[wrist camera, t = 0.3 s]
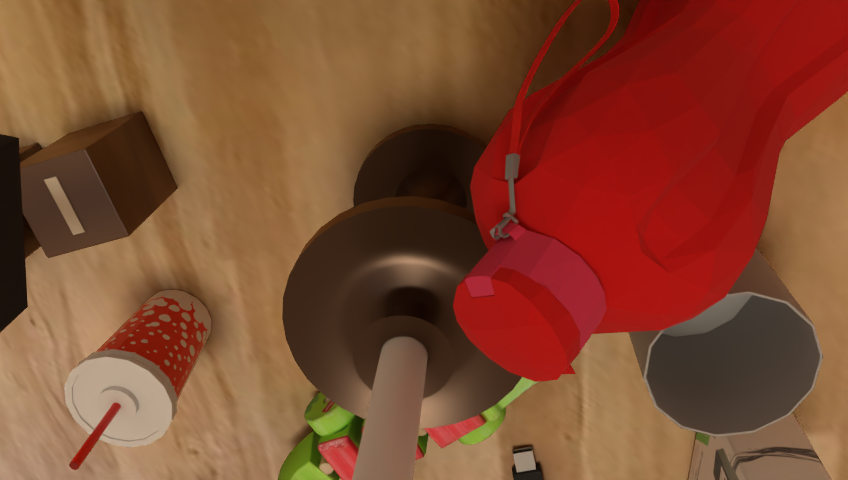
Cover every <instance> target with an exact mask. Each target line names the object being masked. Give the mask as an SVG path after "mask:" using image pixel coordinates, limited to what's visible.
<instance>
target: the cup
mask: <svg viewBox="0 0 848 480" xmlns="http://www.w3.org/2000/svg"><path fill="white" fill-rule="evenodd" d="M629 335H630V338H631V341H632V344H633V347H634V350H635V354H636V357H637V360H638V363H639V366H640V369H641V372H642V375H643V379H644V381H645V384H646V386H647V388H648V391H649V393H650V396H651V398H652V401H653V403H654V406H655V408H657V409H658V410H659V411H660V412H662V413H663V414H664V415H665V416H667V417H668V418H669V419H670V420H672V421H673V422H674V423H675V424H677V425H678V426H679V427H680V428H684V429H688V430H692V431H696V432H699V433H703V434H707V435H711V436H715V437H718V436H727V435H736V434H745V433H754V432H756V431H758V430H760V429H762V428H765V427H767V426H769V425H771V424H773V423H775V422H777V421H779V420H781V419H783V418H785V417H787V416H789V415H790V414H791V413H792V412H793V411H794V410H795V409H796V408H797V406H798V405H799V404H800V403H801V402H802V401H803V400H804V399H805V398H806V397H807V396H808V395H809V393H810V392H811V391H812V390H813V389H814V387H815V383H816V380H817V376H818V373H819V369H820V366H821V362H822V359H823V354H822V350H821V347H820V344H819V340H818V337H817V333H816V330H815V326H814V324H813V323H812V321H811V320H810V319H809V317H808V316H807V315H806V313H805V312H804V311H803V309H802V308H801V307H800V305H799V304H798V303H797V301H796V300H795V299H794V297H793V296H792V295H791V293H790V292H789V291H788V289H787V288H786V287H785V285H784V284H783V283H782V281H781V280H780V279H779V277H778V276H777V275H776V273H775V272H774V271H773V269H772V268H771V267H770V265H769V264H768V263H767V261H766V260H765V259H764V257H763V256H762V254H761V253H760V252H759V250H758V249H757V248H756V249H755V252H754V254H753V256H752V258H751V259H750V261H749V262H748V264H747V265H746V267H745V268H744V270H743V271H742V273H741V274H740V276H739V277H738V279H737V280H736V282H735V283H734V285H733V286H732V288H731V289H730V291H729V292H728V294H727V295H726V297H725V298H723V299H722V300H720V301H719V302H717V303H716V304H714V305H713V306H711V307H709V308H708V309H706V310H705V311H703V312H702V313H700V314H699V315H697V316H696V317H694V318H693V319H690V320H687V321H685V322H682V323H680V324H677V325H674V326H672V327H669V328H666V329H664V330H657V331H636V332H629Z"/></svg>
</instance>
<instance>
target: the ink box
mask: <svg viewBox="0 0 848 480" xmlns="http://www.w3.org/2000/svg"><path fill="white" fill-rule="evenodd" d="M688 480H832V479H831V478H830V476H829V474H828V473H827V471H826V469H825V468H824V466H823V464H822V463H821V461H820V459H819V457H818V456H817V454H816V452H815V450H814V449H813V447H812V445H811V444H810V442H809V440H808V439H807V437H806V435H805V433H804V432H803V430H802V428H801V427H800V425H799V423H798V422H797V420H796V418H795V416H794V415H793V413H791V414H790V415H789V416H787V417H785V418H783V419H781V420H779V421H777V422H775V423H773V424H771V425H769V426H767V427H765V428H762V429H760V430H758V431H756V432H754V433H745V434H736V435H727V436H718V437H715V436H711V435H707V434H703V433H699V432H697V435H696V440H695V445H694V451H693V456H692V462H691V468H690V473H689V479H688Z"/></svg>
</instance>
